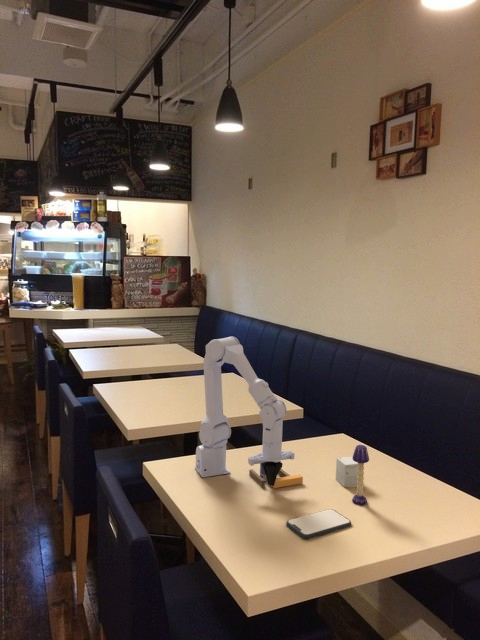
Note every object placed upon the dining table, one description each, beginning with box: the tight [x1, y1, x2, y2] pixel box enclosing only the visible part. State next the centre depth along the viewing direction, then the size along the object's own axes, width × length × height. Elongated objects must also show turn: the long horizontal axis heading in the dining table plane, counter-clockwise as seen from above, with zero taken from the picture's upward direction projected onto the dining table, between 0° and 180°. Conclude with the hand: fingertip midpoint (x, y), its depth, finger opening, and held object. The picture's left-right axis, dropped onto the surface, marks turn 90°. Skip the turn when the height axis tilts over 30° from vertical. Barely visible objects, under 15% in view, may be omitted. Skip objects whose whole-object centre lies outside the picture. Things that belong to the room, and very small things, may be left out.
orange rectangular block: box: [271, 474, 304, 489], centre depth 157 cm, size 10×2×2 cm, turn 114°
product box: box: [335, 456, 358, 488], centre depth 160 cm, size 6×6×7 cm
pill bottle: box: [259, 463, 267, 482], centre depth 162 cm, size 5×5×9 cm
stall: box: [248, 468, 291, 488], centre depth 162 cm, size 10×9×2 cm
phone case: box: [286, 508, 352, 541], centre depth 134 cm, size 9×2×16 cm
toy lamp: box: [351, 444, 370, 506], centre depth 147 cm, size 5×5×17 cm
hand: (270, 484), depth 155 cm, fingers closed
